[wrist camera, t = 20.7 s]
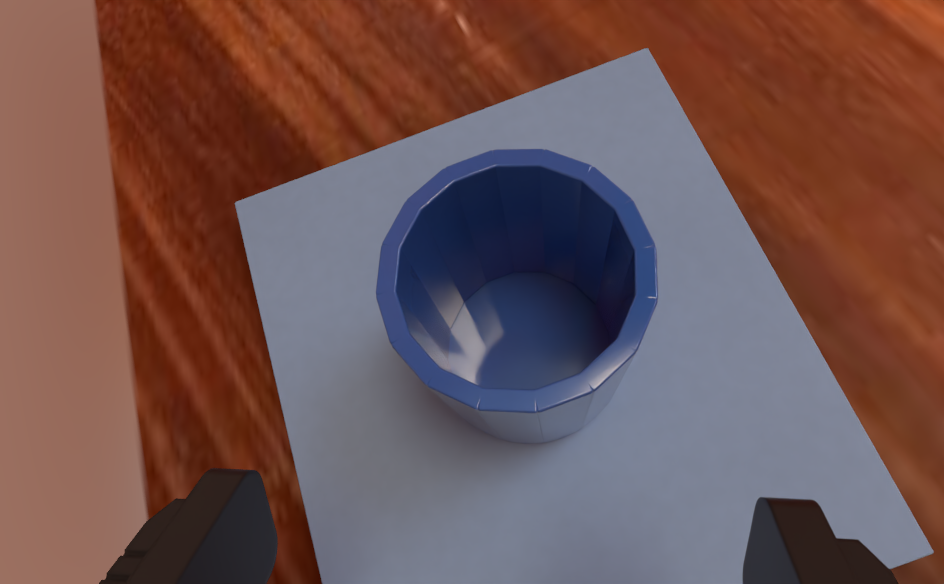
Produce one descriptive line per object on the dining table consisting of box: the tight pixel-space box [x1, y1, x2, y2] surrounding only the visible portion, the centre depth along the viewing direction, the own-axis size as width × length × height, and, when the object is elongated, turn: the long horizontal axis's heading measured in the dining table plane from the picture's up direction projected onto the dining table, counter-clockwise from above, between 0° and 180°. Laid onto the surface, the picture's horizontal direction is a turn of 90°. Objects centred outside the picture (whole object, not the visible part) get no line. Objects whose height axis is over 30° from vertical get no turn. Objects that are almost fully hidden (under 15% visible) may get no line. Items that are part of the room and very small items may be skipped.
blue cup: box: [376, 149, 658, 444], centre depth 18 cm, size 6×6×8 cm
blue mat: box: [235, 48, 934, 584], centre depth 22 cm, size 18×20×1 cm
